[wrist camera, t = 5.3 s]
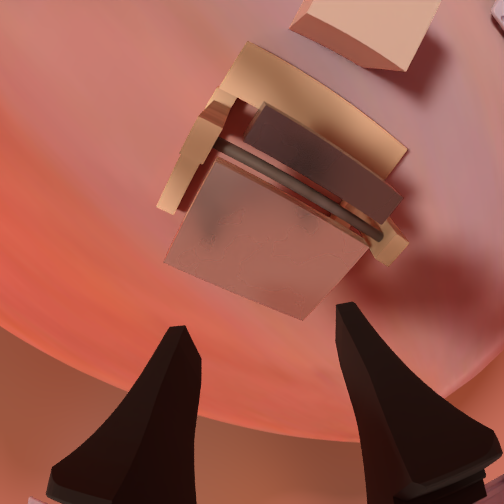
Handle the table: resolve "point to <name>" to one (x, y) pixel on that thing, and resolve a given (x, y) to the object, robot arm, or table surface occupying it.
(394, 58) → the beige block
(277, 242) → the trapdoor
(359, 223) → the frame
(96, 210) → the table surface
